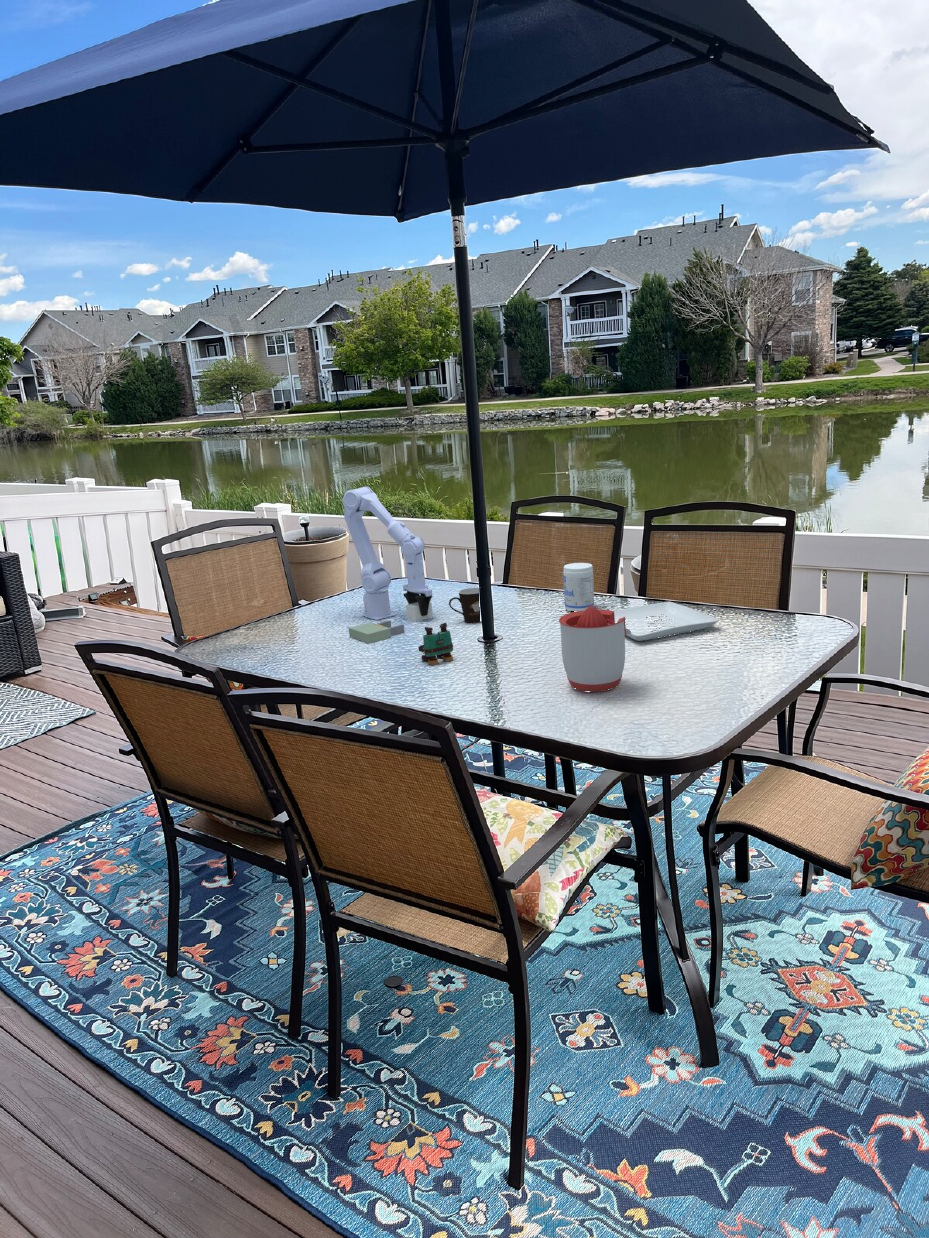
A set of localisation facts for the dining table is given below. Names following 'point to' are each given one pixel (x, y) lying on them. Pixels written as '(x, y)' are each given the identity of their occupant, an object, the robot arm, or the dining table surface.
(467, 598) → the coffee mug
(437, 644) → the binoculars
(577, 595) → the supplement tub
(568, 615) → the citrus juicer
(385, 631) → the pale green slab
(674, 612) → the square plate
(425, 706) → the dining table surface
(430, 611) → the tall pale grey block
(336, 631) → the dining table surface
